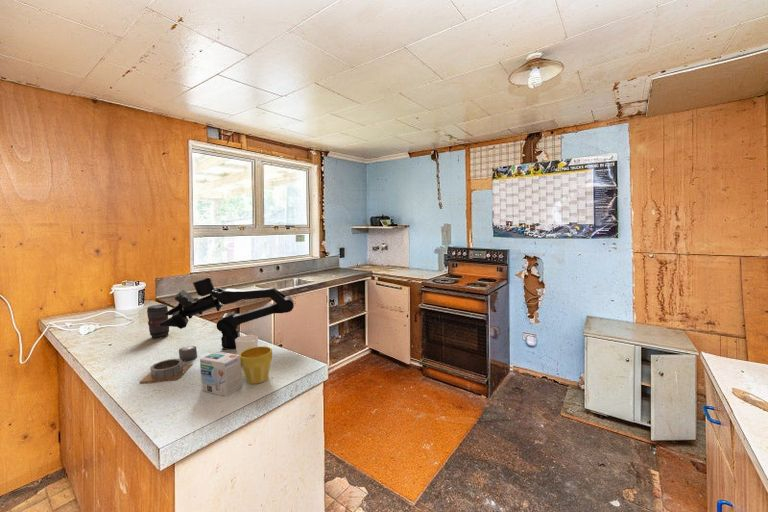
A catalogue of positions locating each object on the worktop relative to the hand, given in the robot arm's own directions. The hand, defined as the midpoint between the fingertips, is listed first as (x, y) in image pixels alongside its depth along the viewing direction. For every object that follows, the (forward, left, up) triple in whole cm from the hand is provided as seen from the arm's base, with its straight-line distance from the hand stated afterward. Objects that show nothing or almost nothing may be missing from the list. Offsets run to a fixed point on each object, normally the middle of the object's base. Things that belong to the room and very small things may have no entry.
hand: (162, 319), depth 133 cm
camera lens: (+13, -25, -15) cm, 32 cm away
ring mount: (-9, +19, -15) cm, 26 cm away
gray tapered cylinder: (-11, +6, -15) cm, 19 cm away
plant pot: (-42, +31, -15) cm, 54 cm away
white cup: (-36, +17, -15) cm, 42 cm away
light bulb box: (-32, +35, -15) cm, 50 cm away
